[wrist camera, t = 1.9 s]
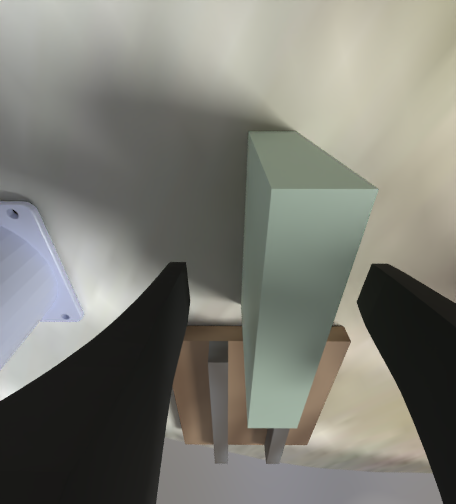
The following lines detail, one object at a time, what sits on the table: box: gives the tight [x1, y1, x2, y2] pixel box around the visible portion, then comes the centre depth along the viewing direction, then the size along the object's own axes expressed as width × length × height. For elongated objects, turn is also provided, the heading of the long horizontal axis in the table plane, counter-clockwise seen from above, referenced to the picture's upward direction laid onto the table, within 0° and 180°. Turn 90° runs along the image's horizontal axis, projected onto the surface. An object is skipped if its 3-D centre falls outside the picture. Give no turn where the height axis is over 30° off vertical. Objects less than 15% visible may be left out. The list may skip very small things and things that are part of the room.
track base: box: [173, 326, 351, 464], centre depth 20 cm, size 12×16×3 cm
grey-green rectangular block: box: [241, 131, 379, 428], centre depth 10 cm, size 2×10×7 cm, turn 0°
